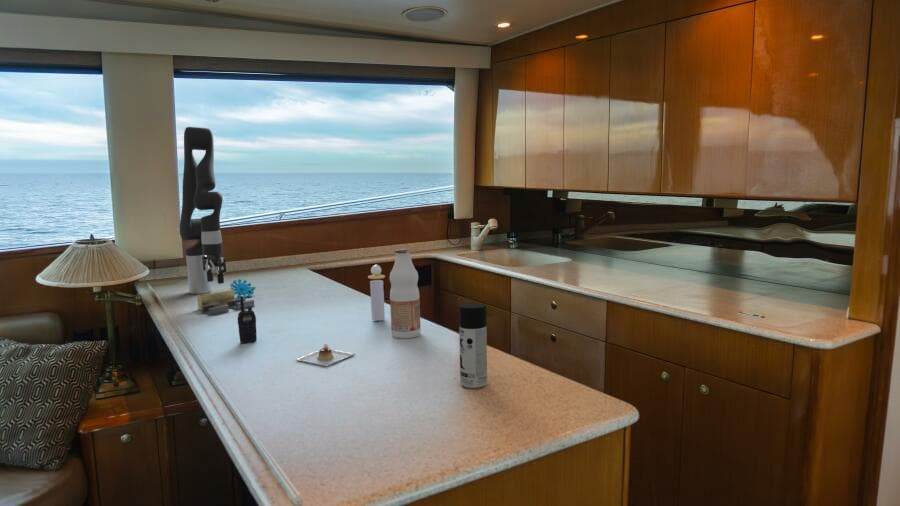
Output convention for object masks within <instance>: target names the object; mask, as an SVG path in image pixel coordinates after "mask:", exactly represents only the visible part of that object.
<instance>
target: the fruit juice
mask: <svg viewBox="0 0 900 506" xmlns="http://www.w3.org/2000/svg"><path fill="white" fill-rule="evenodd" d="M394 253H395V256H396V257H395V259H394V264H393V267H392V269H391V271H390V273H389V282H390V290H389V302H390V306H389V307H390V329H391V331H390V332H391V335H392V337H393V338H395V339H405V340H406V339H414V338H416V337H419V336H420V335H421V330H422V329H421V307H420V306H421V305H420V291H419V290H420V289H419V287H418V282H419V273H418V271H417V269H416V268H415V266H414V264H413V260H412V257H411V253H412V249H411V248H404V247H403V248H402V247H401V248H400V247H399V248H396V249H395V250H394Z"/></svg>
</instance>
